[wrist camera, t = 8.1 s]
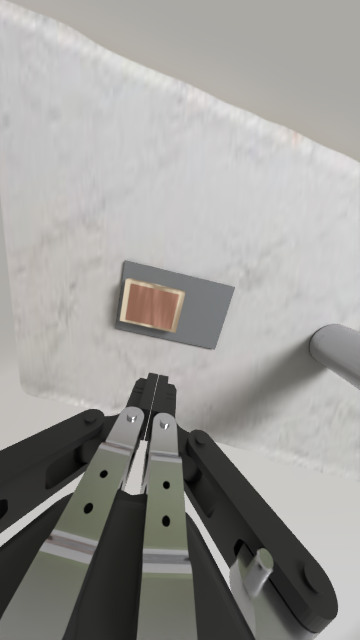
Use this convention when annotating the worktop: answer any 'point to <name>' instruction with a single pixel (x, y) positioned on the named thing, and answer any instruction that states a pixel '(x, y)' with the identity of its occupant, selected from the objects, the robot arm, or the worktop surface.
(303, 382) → the worktop surface
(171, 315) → the cream brown rectangular block
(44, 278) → the worktop surface
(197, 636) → the robot arm
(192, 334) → the rubber mat
